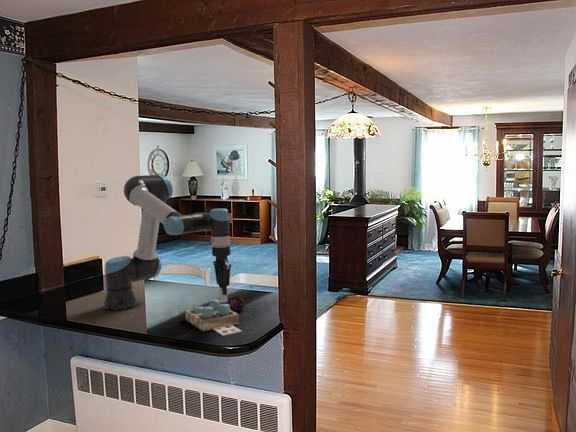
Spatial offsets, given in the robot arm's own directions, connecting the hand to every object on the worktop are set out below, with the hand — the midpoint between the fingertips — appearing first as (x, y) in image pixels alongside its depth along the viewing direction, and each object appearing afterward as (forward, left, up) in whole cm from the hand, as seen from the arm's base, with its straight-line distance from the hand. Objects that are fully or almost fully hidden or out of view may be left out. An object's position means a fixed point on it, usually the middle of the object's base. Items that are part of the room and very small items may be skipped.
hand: (223, 301), depth 215 cm
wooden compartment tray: (-6, -1, -9) cm, 11 cm away
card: (+7, -8, -9) cm, 14 cm away
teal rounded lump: (-12, -1, -8) cm, 15 cm away
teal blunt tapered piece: (0, 0, -6) cm, 6 cm away
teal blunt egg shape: (-9, +5, -6) cm, 12 cm away
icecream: (-5, +17, -9) cm, 20 cm away
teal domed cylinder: (-4, -6, -6) cm, 10 cm away
